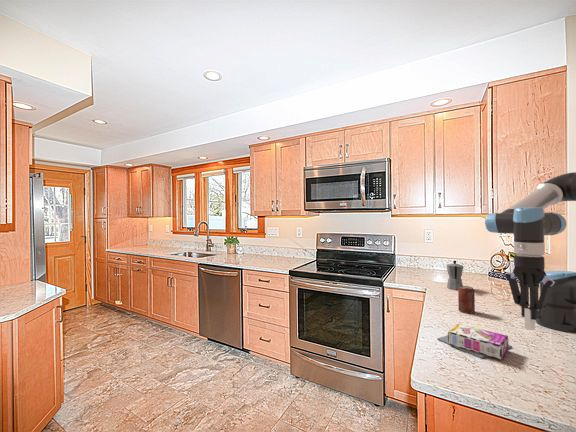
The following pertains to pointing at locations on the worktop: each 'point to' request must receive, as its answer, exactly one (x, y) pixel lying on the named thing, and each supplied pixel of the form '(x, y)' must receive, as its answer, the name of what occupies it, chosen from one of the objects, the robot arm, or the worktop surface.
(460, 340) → the candy bar box
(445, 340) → the mat
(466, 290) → the soda can
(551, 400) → the worktop surface
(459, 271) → the coffeepot
